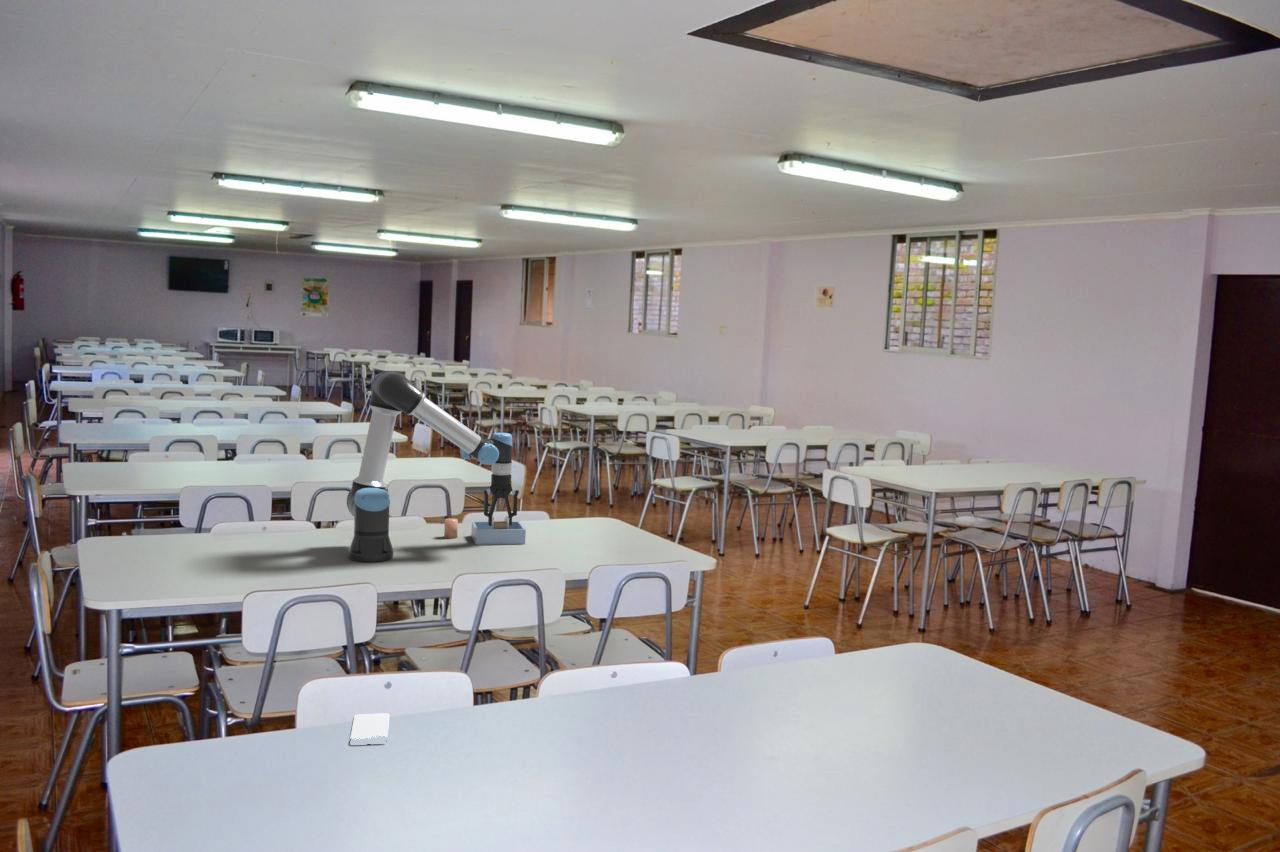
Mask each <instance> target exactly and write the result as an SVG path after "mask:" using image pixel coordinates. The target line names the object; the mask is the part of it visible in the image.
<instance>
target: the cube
mask: <svg viewBox="0 0 1280 852" xmlns="http://www.w3.org/2000/svg"><path fill="white" fill-rule="evenodd" d="M494 529H508V523H507V522H506V520H494Z"/></svg>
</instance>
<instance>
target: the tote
mask: <svg viewBox="0 0 1280 852" xmlns="http://www.w3.org/2000/svg"><path fill="white" fill-rule="evenodd" d="M470 533H471V538H472V540H473V542H474V543H475V546H477V545H478V546H480V545H485V546H486V545H490V546H491V545H525V544H526V536H527V535H526V528H525V527H524V525H523V524H522V523H521V521H519V520H517V521H514V520H512V525H509V529H491V526H489V524H488V521H471V532H470Z"/></svg>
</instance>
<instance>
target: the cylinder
mask: <svg viewBox="0 0 1280 852" xmlns="http://www.w3.org/2000/svg"><path fill="white" fill-rule="evenodd" d="M458 521H459V519H458V518H453V517H451V518H450V517H449V518H444V530H443V531H444V532H443V533H444V535H443V538H444V539H448V540H453V539H457V538H458V531H459V529H458V526H459V522H458Z"/></svg>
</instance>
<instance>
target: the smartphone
mask: <svg viewBox="0 0 1280 852" xmlns="http://www.w3.org/2000/svg"><path fill="white" fill-rule="evenodd" d="M390 719H391V715H390V713H388V712H382V713H381V712H380V713H359V714H355V715H354V717H353V721H352V727H351V732H350V737H349V740H350V739H351V738H352V739H355V738H356V739H359V738H360V739H365V738H368V739H369V738H370V739H371V737H372V736H373V737H375V738H377V737H378V736H381V737H382V736H385V737H389V730H390V729H389V727H390ZM377 735H378V736H377ZM376 736H377V737H376ZM373 737H372V738H373ZM356 739H355V740H356ZM360 739H359V740H360Z"/></svg>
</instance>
